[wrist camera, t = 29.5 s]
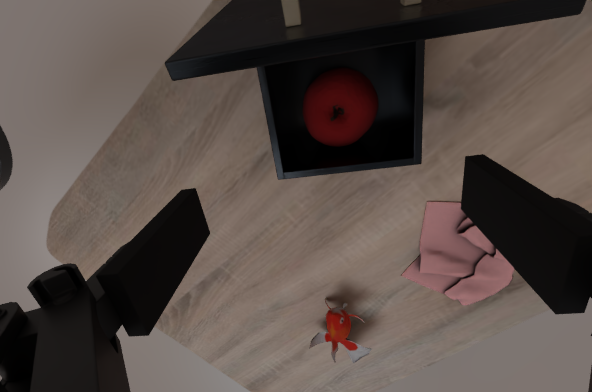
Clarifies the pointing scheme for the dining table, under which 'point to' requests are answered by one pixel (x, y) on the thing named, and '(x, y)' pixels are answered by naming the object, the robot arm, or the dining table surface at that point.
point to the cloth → (457, 256)
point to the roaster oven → (381, 135)
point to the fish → (340, 333)
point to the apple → (340, 106)
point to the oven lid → (340, 28)
